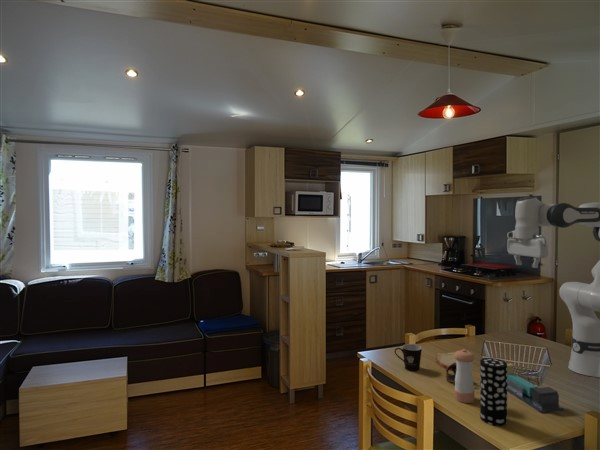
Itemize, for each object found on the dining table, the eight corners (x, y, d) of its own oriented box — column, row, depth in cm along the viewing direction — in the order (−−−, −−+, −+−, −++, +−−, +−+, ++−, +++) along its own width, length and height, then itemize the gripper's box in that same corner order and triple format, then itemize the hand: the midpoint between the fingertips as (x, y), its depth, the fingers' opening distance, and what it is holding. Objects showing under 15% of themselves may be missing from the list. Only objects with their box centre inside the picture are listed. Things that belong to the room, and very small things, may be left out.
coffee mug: (425, 369, 181) (425, 347, 181) (414, 373, 176) (413, 351, 176) (405, 361, 191) (405, 341, 190) (393, 366, 186) (393, 345, 185)
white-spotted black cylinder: (503, 428, 131) (503, 368, 130) (477, 420, 136) (477, 363, 136) (509, 418, 137) (509, 361, 136) (484, 411, 142) (484, 356, 142)
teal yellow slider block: (510, 379, 165) (510, 363, 165) (537, 396, 151) (537, 377, 150) (503, 380, 165) (503, 364, 165) (529, 396, 150) (529, 378, 150)
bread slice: (458, 374, 176) (458, 365, 176) (423, 362, 191) (423, 354, 190) (478, 364, 188) (478, 356, 188) (444, 354, 202) (444, 346, 202)
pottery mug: (476, 387, 163) (468, 371, 162) (454, 395, 165) (446, 380, 163) (466, 368, 175) (458, 354, 173) (446, 376, 177) (438, 362, 175)
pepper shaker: (455, 393, 157) (455, 345, 157) (475, 397, 153) (475, 348, 153) (452, 400, 151) (452, 350, 150) (473, 405, 147) (473, 353, 147)
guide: (516, 382, 166) (516, 367, 166) (563, 410, 142) (563, 393, 142) (497, 384, 164) (497, 369, 164) (541, 412, 141) (541, 395, 141)
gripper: (552, 235, 161) (552, 269, 161) (516, 233, 181) (516, 263, 181) (538, 235, 160) (538, 269, 160) (504, 233, 180) (504, 263, 180)
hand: (526, 266), depth 171 cm, fingers open, 8 cm apart
